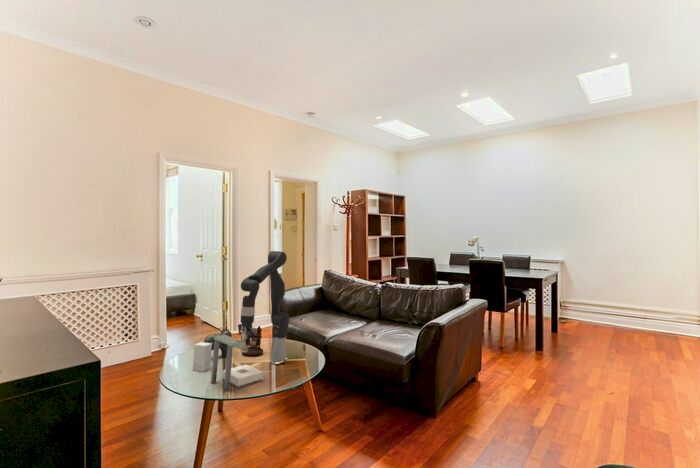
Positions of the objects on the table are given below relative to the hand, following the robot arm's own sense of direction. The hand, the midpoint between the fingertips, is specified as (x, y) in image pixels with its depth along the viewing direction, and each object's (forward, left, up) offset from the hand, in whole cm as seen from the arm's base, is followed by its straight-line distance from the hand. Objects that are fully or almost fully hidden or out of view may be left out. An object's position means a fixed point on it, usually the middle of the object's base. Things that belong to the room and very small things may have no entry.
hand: (245, 343), depth 198 cm
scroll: (-32, -35, -21) cm, 52 cm away
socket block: (0, 0, -21) cm, 21 cm away
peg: (0, 0, -4) cm, 4 cm away
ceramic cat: (-8, -42, -21) cm, 48 cm away
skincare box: (+9, -29, -21) cm, 37 cm away
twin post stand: (+11, 0, -21) cm, 24 cm away
